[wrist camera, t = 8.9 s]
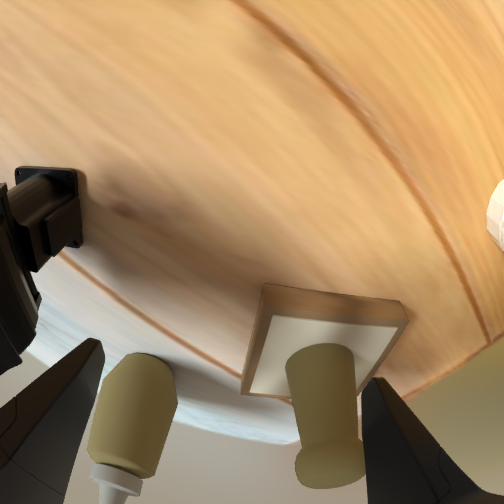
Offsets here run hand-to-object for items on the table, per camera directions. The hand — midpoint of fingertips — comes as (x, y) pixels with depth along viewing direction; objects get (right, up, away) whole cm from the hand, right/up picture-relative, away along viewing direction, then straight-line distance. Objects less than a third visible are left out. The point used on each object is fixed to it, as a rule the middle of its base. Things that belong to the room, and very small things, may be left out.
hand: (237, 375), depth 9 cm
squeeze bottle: (-11, -9, +21) cm, 25 cm away
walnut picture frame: (+6, -5, +18) cm, 19 cm away
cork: (+6, -6, +16) cm, 18 cm away
